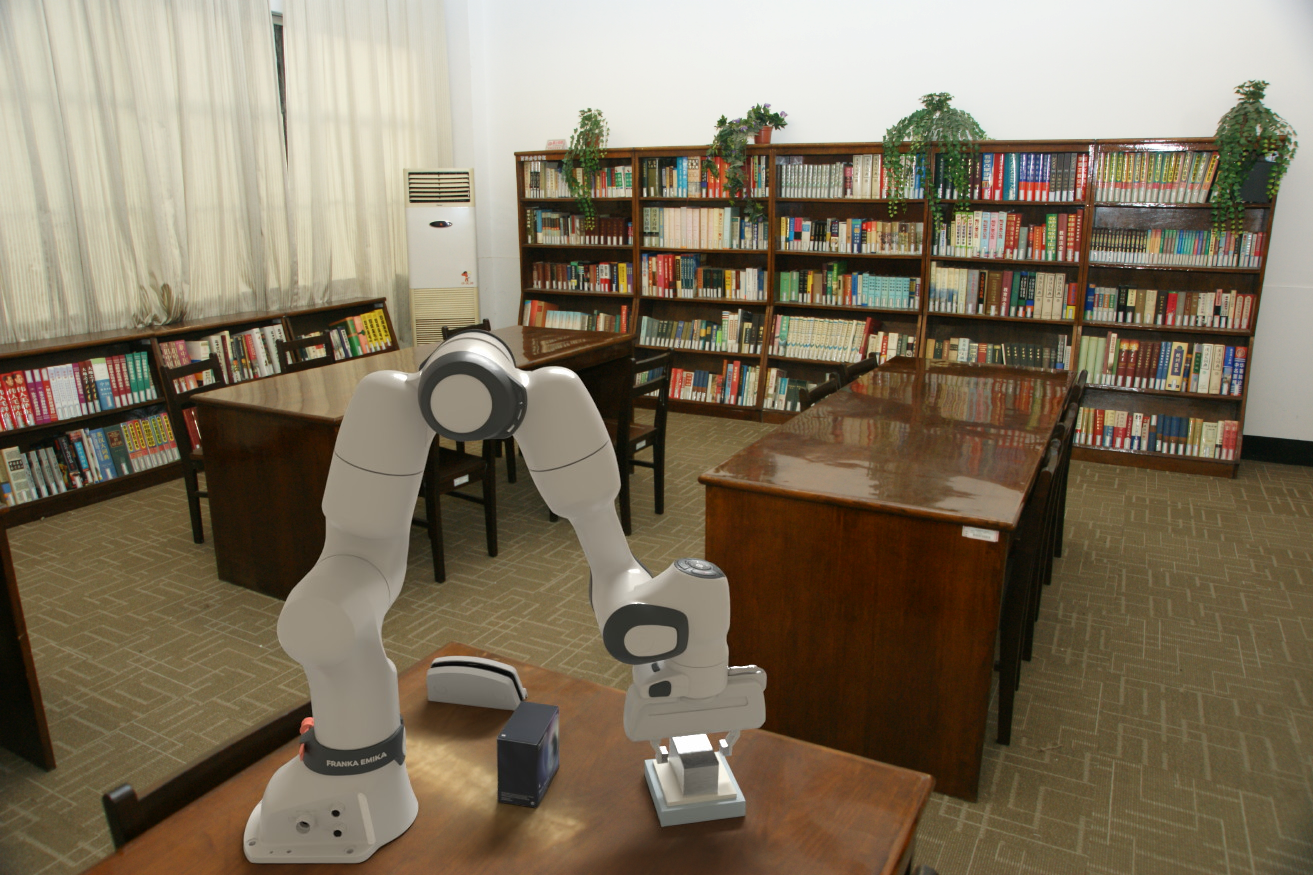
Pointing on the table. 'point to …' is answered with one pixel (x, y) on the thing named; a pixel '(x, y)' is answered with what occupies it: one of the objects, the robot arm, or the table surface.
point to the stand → (693, 808)
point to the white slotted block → (474, 682)
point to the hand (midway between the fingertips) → (693, 757)
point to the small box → (528, 754)
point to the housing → (694, 765)
